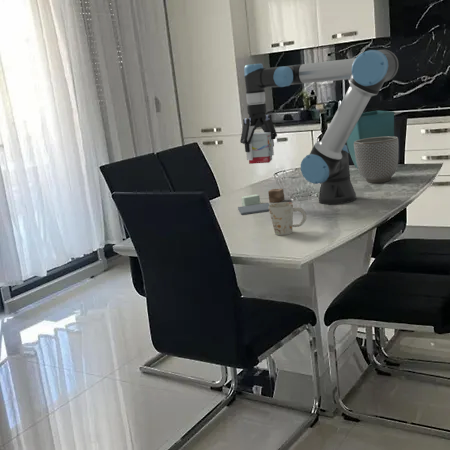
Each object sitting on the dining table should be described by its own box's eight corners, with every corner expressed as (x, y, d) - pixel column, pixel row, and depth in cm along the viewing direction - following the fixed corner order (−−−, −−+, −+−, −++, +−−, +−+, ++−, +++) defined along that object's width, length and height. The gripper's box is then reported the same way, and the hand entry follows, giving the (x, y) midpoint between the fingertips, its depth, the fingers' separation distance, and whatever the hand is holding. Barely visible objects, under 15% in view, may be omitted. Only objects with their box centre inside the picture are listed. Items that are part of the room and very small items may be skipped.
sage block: (260, 204, 271) (259, 195, 270) (245, 207, 269) (244, 198, 268) (257, 203, 274) (256, 194, 274) (242, 205, 273) (241, 196, 272)
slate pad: (268, 204, 267) (267, 202, 267) (273, 210, 255) (272, 208, 254) (238, 208, 266) (237, 207, 266) (241, 214, 254) (241, 213, 254)
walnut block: (284, 199, 273) (283, 188, 272) (280, 202, 269) (279, 190, 268) (273, 200, 276) (272, 189, 275) (269, 202, 271) (268, 191, 270)
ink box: (269, 162, 252) (267, 133, 249) (248, 164, 254) (246, 134, 251) (273, 159, 260) (270, 130, 257) (252, 160, 262) (250, 132, 259)
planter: (406, 176, 291) (403, 135, 287) (392, 184, 275) (390, 141, 271) (365, 177, 302) (362, 137, 297) (350, 185, 286) (346, 143, 281)
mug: (269, 232, 220) (266, 204, 218) (305, 227, 221) (302, 199, 219) (273, 237, 212) (270, 208, 210) (310, 232, 213) (307, 203, 211)
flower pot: (361, 174, 311) (356, 116, 305) (345, 169, 330) (341, 115, 324) (398, 168, 315) (394, 111, 308) (381, 164, 334) (377, 110, 327)
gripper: (270, 100, 262) (274, 152, 267) (228, 107, 247) (233, 161, 252) (283, 100, 256) (287, 153, 261) (241, 106, 241) (245, 162, 246)
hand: (260, 157), depth 257 cm, fingers closed on ink box, 11 cm apart
